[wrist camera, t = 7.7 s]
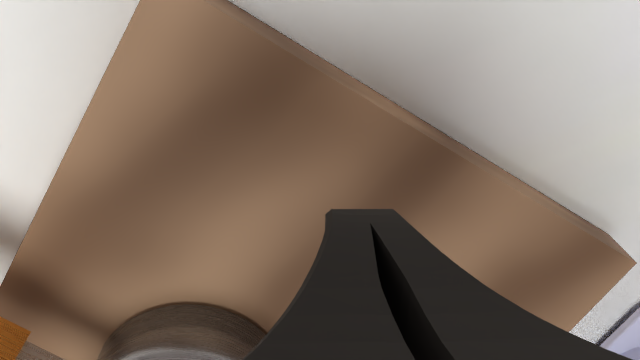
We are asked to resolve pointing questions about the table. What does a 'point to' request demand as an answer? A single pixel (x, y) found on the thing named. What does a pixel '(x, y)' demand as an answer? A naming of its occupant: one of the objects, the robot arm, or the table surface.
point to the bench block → (264, 189)
